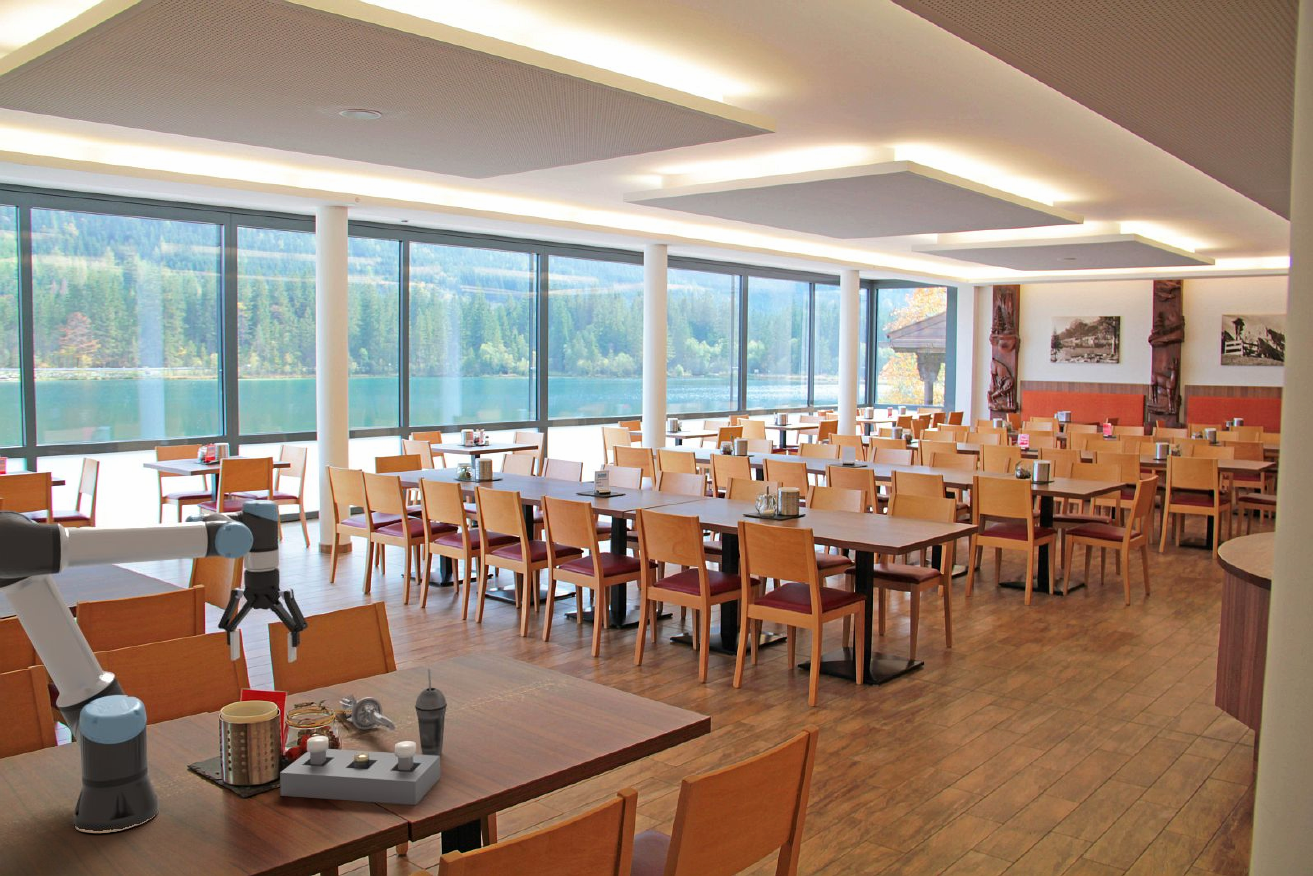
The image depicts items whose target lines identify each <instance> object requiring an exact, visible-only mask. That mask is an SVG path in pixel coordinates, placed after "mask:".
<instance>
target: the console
mask: <svg viewBox="0 0 1313 876" xmlns="http://www.w3.org/2000/svg"><path fill="white" fill-rule="evenodd" d="M359 753H367V754H369V768H368V769H356V768H354V755H356V754H359ZM279 775H280V777H279V778H280V779H279V781H280V796H282V797H283V796H284V797H294V798H295V797H296V798H298V797H299V798H313V799H323V800H324V799H326V800H338V801H353V802H354V801H355V802H369V803H383V804H397V805H410V806H411V805H413V806H416V805H417V804H418V803H419V802H420V801H421V800H422V799H423V798H424V796H426V795H427V794H428V792H429V791H430V790H431V789H432V788H433V787H434V785H436V783H437V782H438V781H439V780H440V779H441V755H440V756H435V755H422V754H418V753H416V755H414V756H413V767H412V768H411V769H410V770H398V757H396V756H395V752H385V751H370V750H369V751H366V750H353V749H351V750H349V749H333V748H328V749H327V750H326V761H325V762H323V763H322V764H321V765H319V764H310V752H309V751H307V752H305V753H304V754H302V755H301V756H300V757H299V758H297V759H296V760H294V761H293V762H292V763H290V764H289V765H288V766H286V768H284V769H283V770H282V771H280V772H279Z"/></svg>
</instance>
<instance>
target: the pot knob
mask: <svg viewBox="0 0 1313 876" xmlns="http://www.w3.org/2000/svg"><path fill="white" fill-rule="evenodd" d="M354 768H356V769H368V768H369V754H367V753H359V754H356V755H354Z"/></svg>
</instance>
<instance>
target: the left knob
mask: <svg viewBox="0 0 1313 876" xmlns="http://www.w3.org/2000/svg"><path fill="white" fill-rule="evenodd" d="M327 749H330V748H329V737H328V736H326V735H317V736H316V735H315V736H312V737H309V738H308V739H307V741H306V750H307V752H308V751H309V752H310V764H319V765H321V764H322V763H323V762H325V761H326V750H327Z"/></svg>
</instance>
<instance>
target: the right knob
mask: <svg viewBox="0 0 1313 876" xmlns="http://www.w3.org/2000/svg"><path fill="white" fill-rule="evenodd" d="M394 753H395V756H396V757H398V770H410V769H411V768H412V767H413V756H414V755H416V754H417V743H416V742H415V741H409V740H405V741H400V742H398V743H395V745H394Z"/></svg>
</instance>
